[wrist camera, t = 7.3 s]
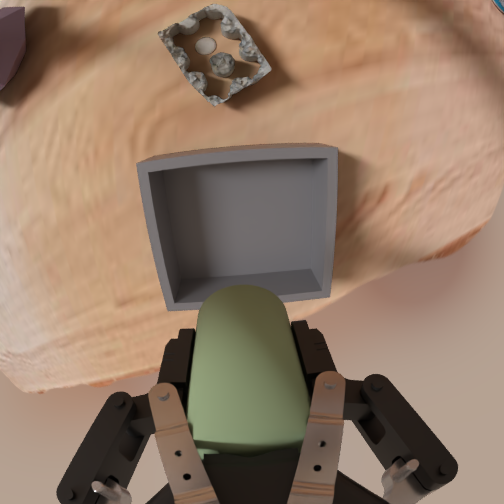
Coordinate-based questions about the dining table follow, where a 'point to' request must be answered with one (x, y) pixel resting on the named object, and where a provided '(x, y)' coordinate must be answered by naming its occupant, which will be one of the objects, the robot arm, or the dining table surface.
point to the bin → (242, 220)
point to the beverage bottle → (499, 4)
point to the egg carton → (205, 46)
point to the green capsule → (246, 376)
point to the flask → (11, 42)
